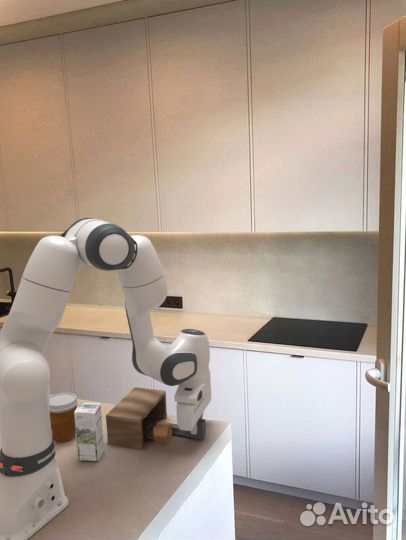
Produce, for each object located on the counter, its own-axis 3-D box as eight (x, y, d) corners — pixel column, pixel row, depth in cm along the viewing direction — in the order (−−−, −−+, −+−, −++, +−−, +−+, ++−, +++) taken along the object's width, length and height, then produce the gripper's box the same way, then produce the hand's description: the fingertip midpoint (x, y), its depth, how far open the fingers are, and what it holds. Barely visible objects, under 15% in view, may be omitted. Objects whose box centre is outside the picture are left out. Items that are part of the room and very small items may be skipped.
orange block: (166, 443, 139) (166, 430, 138) (153, 441, 140) (153, 428, 139) (172, 436, 142) (171, 423, 142) (159, 434, 144) (158, 421, 143)
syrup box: (104, 450, 136) (101, 401, 133) (98, 462, 130) (94, 412, 127) (85, 449, 136) (81, 401, 134) (77, 462, 131) (73, 411, 128)
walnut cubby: (141, 449, 136) (139, 419, 134) (107, 444, 139) (105, 415, 137) (166, 417, 153) (165, 390, 152) (136, 413, 157) (134, 387, 155)
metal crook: (196, 448, 135) (197, 432, 134) (146, 438, 140) (145, 422, 139) (205, 435, 142) (205, 419, 141) (156, 426, 147) (156, 410, 146)
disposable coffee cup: (40, 442, 141) (37, 404, 139) (60, 426, 150) (57, 390, 147) (69, 447, 138) (65, 408, 135) (87, 431, 147) (84, 393, 144)
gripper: (195, 369, 149) (197, 411, 151) (171, 398, 130) (174, 446, 132) (215, 371, 147) (216, 414, 150) (194, 401, 128) (196, 449, 130)
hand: (196, 429), depth 141 cm, fingers closed on metal crook, 3 cm apart
